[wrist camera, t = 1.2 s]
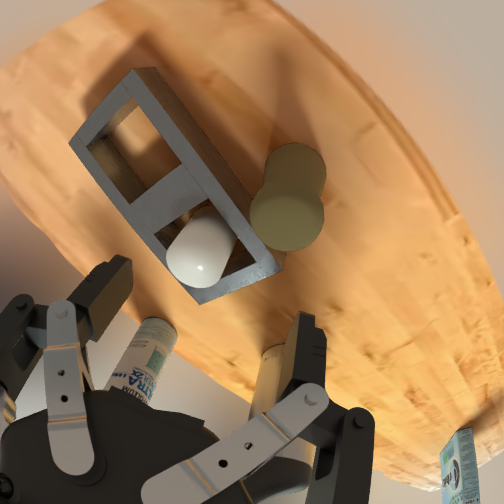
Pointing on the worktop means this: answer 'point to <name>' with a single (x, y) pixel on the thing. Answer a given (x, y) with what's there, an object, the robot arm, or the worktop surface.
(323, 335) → the robot arm
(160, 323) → the spray paint can
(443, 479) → the gum box
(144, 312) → the worktop surface
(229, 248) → the salt cellar
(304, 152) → the cork
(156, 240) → the cinder block
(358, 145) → the worktop surface
